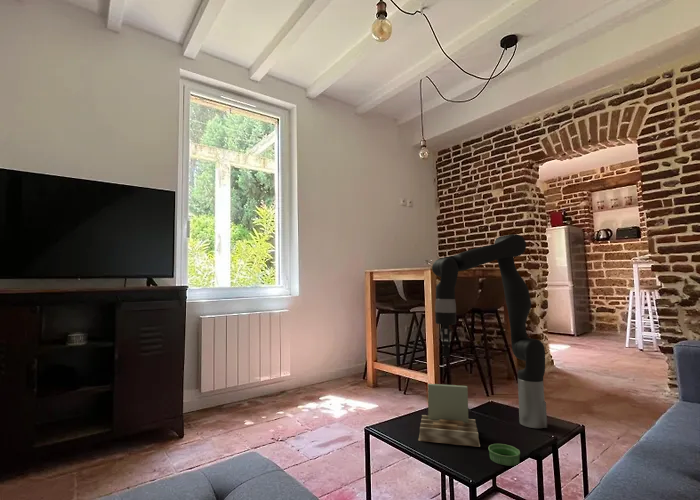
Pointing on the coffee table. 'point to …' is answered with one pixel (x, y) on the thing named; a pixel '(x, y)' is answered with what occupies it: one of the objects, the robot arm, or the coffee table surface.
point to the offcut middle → (451, 422)
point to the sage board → (448, 402)
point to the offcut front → (445, 426)
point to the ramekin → (506, 450)
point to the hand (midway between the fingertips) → (446, 355)
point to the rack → (449, 433)
